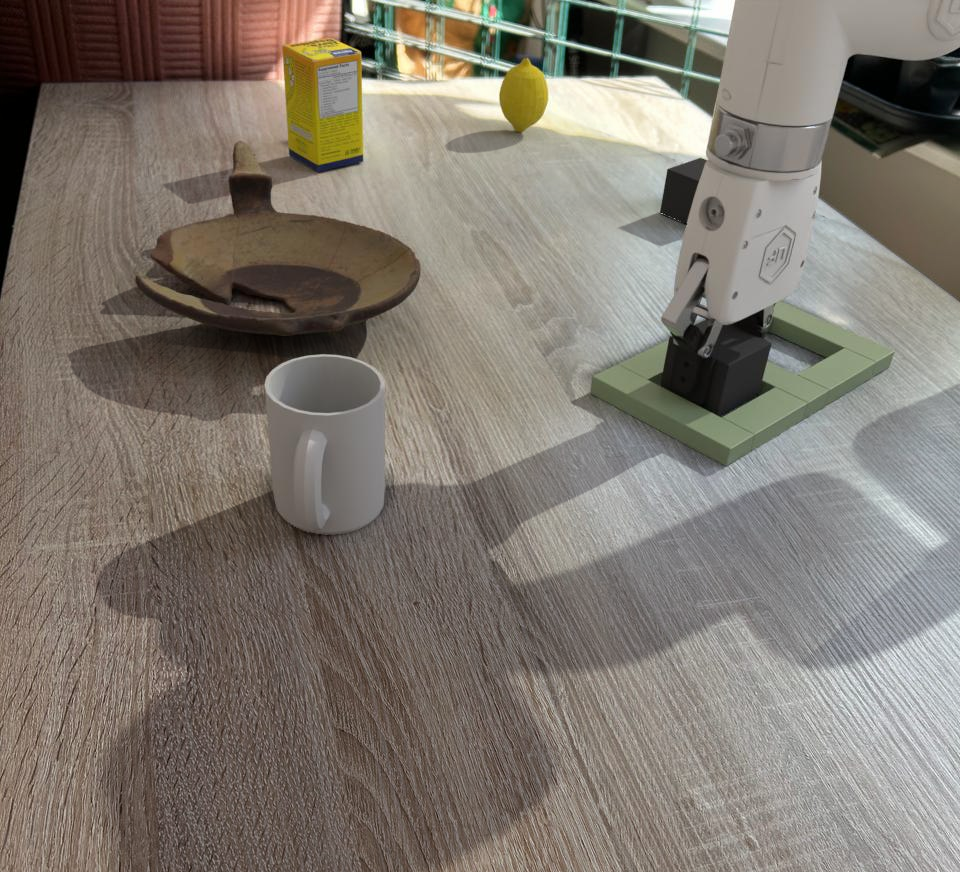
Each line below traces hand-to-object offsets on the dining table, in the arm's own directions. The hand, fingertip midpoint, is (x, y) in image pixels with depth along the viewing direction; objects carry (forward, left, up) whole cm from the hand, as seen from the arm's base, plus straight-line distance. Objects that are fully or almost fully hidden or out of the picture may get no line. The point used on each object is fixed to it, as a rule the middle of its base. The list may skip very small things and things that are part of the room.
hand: (712, 381), depth 84 cm
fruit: (-32, -51, -2) cm, 60 cm away
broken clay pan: (+15, -33, -2) cm, 36 cm away
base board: (-5, 0, -2) cm, 5 cm away
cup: (+32, -7, -2) cm, 33 cm away
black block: (0, 0, -1) cm, 1 cm away
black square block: (-29, -23, -2) cm, 37 cm away
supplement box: (-8, -57, -2) cm, 58 cm away
